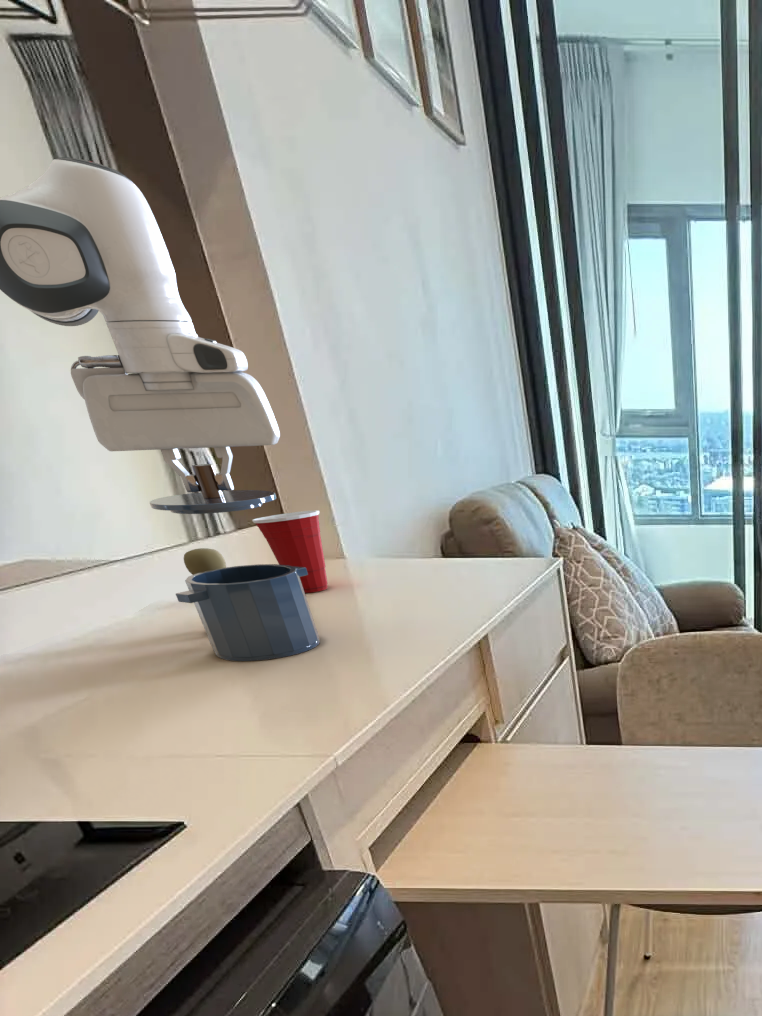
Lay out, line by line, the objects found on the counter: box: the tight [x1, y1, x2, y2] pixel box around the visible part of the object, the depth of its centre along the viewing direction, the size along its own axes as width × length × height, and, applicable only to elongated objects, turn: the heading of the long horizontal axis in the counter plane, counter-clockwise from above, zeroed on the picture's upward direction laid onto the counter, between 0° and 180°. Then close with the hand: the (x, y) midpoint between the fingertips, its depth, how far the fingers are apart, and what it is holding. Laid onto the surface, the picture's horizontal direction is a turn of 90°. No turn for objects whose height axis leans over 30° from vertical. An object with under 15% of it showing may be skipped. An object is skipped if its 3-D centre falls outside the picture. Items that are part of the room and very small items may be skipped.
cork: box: [183, 547, 227, 575], centre depth 125 cm, size 6×6×11 cm
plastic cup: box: [251, 509, 328, 594], centre depth 148 cm, size 11×11×12 cm
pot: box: [175, 563, 321, 662], centre depth 118 cm, size 14×19×10 cm
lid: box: [149, 463, 277, 515], centre depth 108 cm, size 15×15×5 cm
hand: (211, 490), depth 109 cm, fingers closed on lid, 2 cm apart
